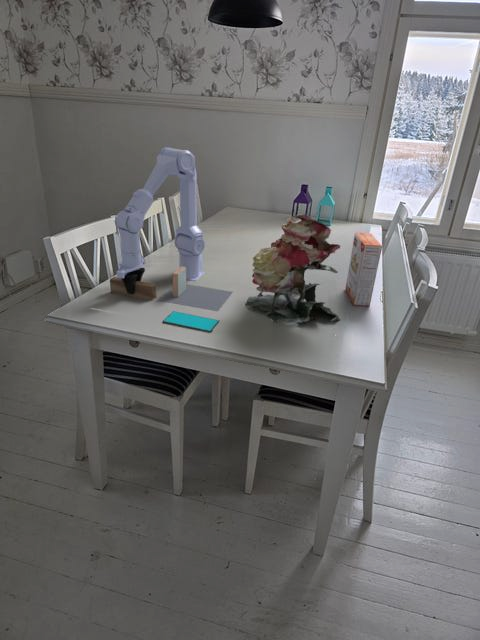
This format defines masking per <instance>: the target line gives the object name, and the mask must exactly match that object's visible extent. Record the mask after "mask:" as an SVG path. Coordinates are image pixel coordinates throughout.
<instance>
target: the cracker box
mask: <svg viewBox="0 0 480 640" xmlns="http://www.w3.org/2000/svg"><path fill="white" fill-rule="evenodd" d="M351 249H352V250H351V255H350V259H349V265H348V270H347V277H346V283H345V287H344V288H345V291H346V292H347V295H348V297H349V299H350V301H351V303H352V305H353V306H362V307H363V306H364V307H370V306H371V302H372V296H373V292H374V288H375V287H374V286H375V282H376V279H377V278H376V277H377V272H378V268H379V264H380V258H381V254H382V249H383V246H382V244H381V243H380V242H379V241H378V239H376V238H375V236H374V235H373V234H372V233H369V232H368V233H365V232H355V233H354V237H353V241H352V248H351Z"/></svg>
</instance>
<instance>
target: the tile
mask: <svg viewBox="0 0 480 640" xmlns="http://www.w3.org/2000/svg"><path fill="white" fill-rule="evenodd" d="M186 284H187V280H186V267H183V266H181V267H180V268H179V267H178V269H176V270H175V271H174V272H173V273H172V288H173V297H179V296H180V295H181V294H182V293H183V292H184V291H185V290H186Z"/></svg>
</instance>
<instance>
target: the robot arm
mask: <svg viewBox="0 0 480 640" xmlns="http://www.w3.org/2000/svg"><path fill="white" fill-rule="evenodd" d="M173 175H176V177H177V178H179V199H180V200H179V202H180V204H179V205H180V206H179V207H180V208H179V209H180V226H178V228H177V229H176V230H175V236H174V246H175V247H176V249H177V252H178V253H179V254H178V255H179V256H178V257H179V261H178V263H179V267H178V269H179V268H180V267H181V266H183V267H186V281H192V282H195V281H198V279H200V278H201V277H202V276H203V275H204V274H205V271H203V261H204V260H203V254H202V253H203V251H204V250H205V246H206V245H205V244H206V243H205V239H204V233H203V231H202V230H201V229H200V228H199V226H198V222H197V221H198V219H197V216H198V215H197V214H198V210H197V209H198V207H197V206H198V204H197V203H198V202H197V201H198V198H197V197H198V196H197V195H198V193H197V190H198V189H197V187H198V186H197V182H198V179H197V176H198V175H197V170H196V157H195V156H194V154H193V153H192V152H191V151H189V150H187V149H184V150H183V149H178V148H171V147H168V146H167V147H163V148H162V149H161V150H160V153H159V154H158V155H157V156H156V164H155V166H154V167H153V170H152V172H151V173H150V175H149V176H148V179H147V180H146V182H145V184H144V185H143V188H140V189H136V191H134V192H133V193H132V197H131V198H130V200H129V202H128V203H127V205H125V207H124V209H123V210H120V211H119V212H118V213H117V215H116V217H115V220H114V222H113V223H114V224H115V225H114V226H116V228H117V229H118V233H119V241H120V255H121V261H120V262H118V266H119V269H118V270H117V271H116V277H117V278H121V279H122V281H123V283H124V285H125V287H126V290H127V293H128V294H134V292H135V282H136V281H141V282H142V279H143V275H144V273H145V272H146V269H145V267H143V265H146V263H147V262H146V257H142V255H141V240H140V239H141V237H140V231H141V230H142V229H143V227H144V220H145V217H146V214H147V213H148V211H149V210H150V208H151V206H152V205H153V203H154V195H155V193H156V192H157V191H158V189H159V188H160V187H161V185H162V184H163V183H164V181H165V180H166V178H168V177H169V176H173Z"/></svg>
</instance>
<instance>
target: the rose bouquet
mask: <svg viewBox="0 0 480 640" xmlns="http://www.w3.org/2000/svg"><path fill="white" fill-rule="evenodd" d="M285 222H286V223H282V224H281V229H282V230H283V234H281V236H280V238H278V239H276V240H275V241H273V242H271V244H270V247H264V248H263V247H262V248H260V250H259V251H258V253H256V254H255V255H254V256H253V257H252V261H253V263H252V265H251V266H252V267H254V268H253V269H252V270H251V271H252V272H253V274H252V276H251V277H252V279H251V280H252V281H251V282H252V283H253V284H254V285H256V286H257V287H256V290H257V291H258V292H260V293H258V295H254V296H248V298H247V299H246V303H245V307H246V308H247V309H249V310H250V311H252V312H254V313H258V314H260V315H263V316H265V317H267V318H269V319H271V320H272V322H273V323H274V324H279V321H280V322H283V325H287V326H291V327H295V328H298V327H300V325H301V324H302V323H306V322H312V321H316V317H312V316H310V313H311V310H312V309H313V310H314V309H316V310H317V309H318V310H321V311H323V312H325V313H326V314H329V315H331V316H334V317H333V318H332V319H330V321H331V322H332V321H338V320H339V321H340V320H341V319H340V316H339V315H338V314H336V313H335V312H333V311H332V310H331V308H329V307H327V306H324V304H325V302H324V301H319V302H317V301H316V297H317V295H316V289H317V288H316V287H317V286H319V285H321V283H315V282H314V283H311V282H309V283H308V284H306V280H305V273H306V271H307V270H311V271H313V270H317V271H318V270H319V271H329V272H332V273H335V274H338V273H339V271H338V270H337V269H336V268H334V267H332V266H331V265H326V264H322V263H323V262H324V261H325V260H326V259H328V258H329V257H330V256H331V254H336V251H338V250H339V249H341V245H340V244H338V243H337V244H335V243H329V242H328V241H327V239H329V238H330V235H331V233H332V229H331V228H330V227H329V226H327V225H325V224H324V223H323V222H321V221H318V220H316V219H315V218H312V217H311V214H309V215H307V214H305V213H304V214H302V213H298V214H296V215H291V216H290V218H287V219H286V220H285ZM263 293H272V294H273V295H271V294H266V295H264V294H263ZM286 304H287V305H286ZM286 306H287V307H289V309H288V308H287V307H286Z"/></svg>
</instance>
